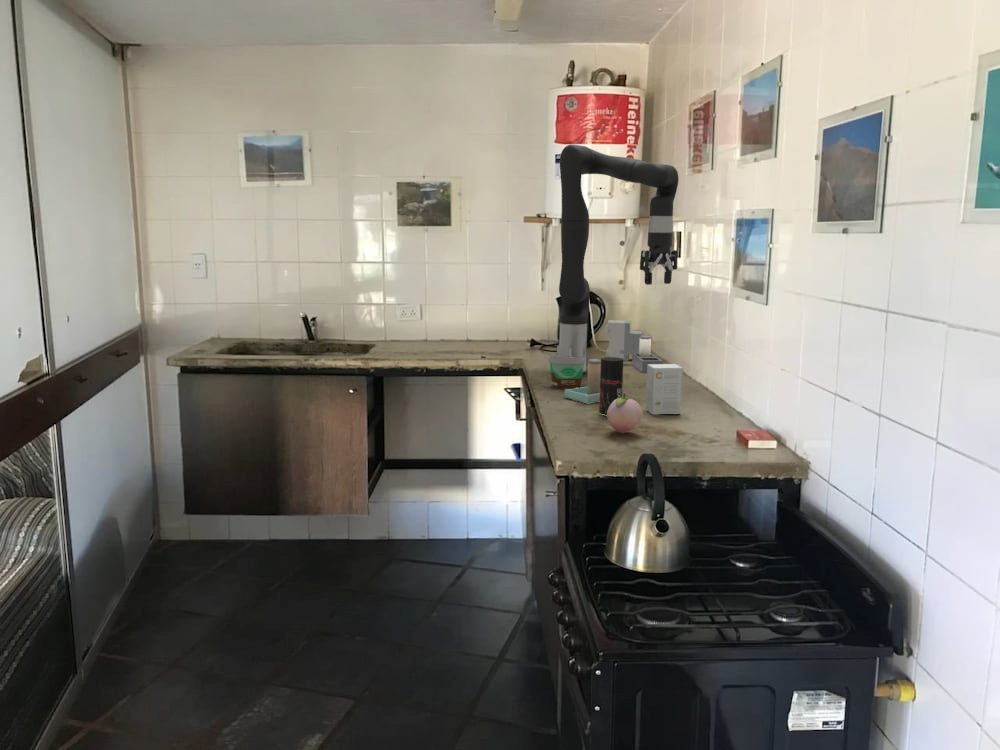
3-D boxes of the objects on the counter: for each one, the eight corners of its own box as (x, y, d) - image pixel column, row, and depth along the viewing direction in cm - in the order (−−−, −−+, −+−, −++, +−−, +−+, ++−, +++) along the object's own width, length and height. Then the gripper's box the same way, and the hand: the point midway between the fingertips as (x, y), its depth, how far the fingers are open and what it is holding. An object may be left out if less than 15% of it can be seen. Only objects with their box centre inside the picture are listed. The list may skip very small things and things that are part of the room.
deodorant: (616, 417, 211) (618, 361, 208) (595, 414, 214) (597, 359, 211) (624, 413, 216) (626, 358, 214) (603, 410, 219) (605, 356, 216)
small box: (673, 409, 221) (675, 363, 218) (680, 415, 215) (683, 367, 212) (644, 410, 220) (646, 363, 218) (651, 415, 214) (653, 367, 211)
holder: (662, 375, 271) (663, 341, 269) (641, 375, 271) (643, 341, 269) (651, 367, 287) (652, 334, 285) (631, 367, 287) (633, 334, 284)
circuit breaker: (644, 364, 293) (646, 323, 290) (605, 362, 296) (607, 322, 293) (645, 361, 300) (647, 321, 297) (607, 359, 303) (608, 320, 300)
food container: (553, 390, 245) (554, 358, 243) (547, 386, 251) (547, 355, 249) (591, 388, 248) (592, 356, 247) (584, 384, 254) (585, 353, 252)
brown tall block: (599, 398, 232) (600, 361, 230) (585, 397, 233) (586, 360, 231) (601, 395, 235) (603, 359, 234) (588, 394, 237) (589, 358, 235)
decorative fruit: (638, 440, 189) (640, 399, 187) (604, 437, 191) (605, 396, 190) (642, 430, 198) (644, 391, 196) (609, 428, 200) (611, 389, 198)
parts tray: (587, 404, 226) (588, 395, 226) (564, 398, 234) (564, 389, 234) (622, 398, 235) (623, 390, 234) (599, 392, 243) (599, 384, 242)
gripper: (653, 231, 239) (650, 285, 242) (685, 231, 247) (682, 284, 250) (635, 231, 245) (633, 284, 248) (667, 231, 253) (664, 282, 256)
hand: (657, 284), depth 249 cm, fingers open, 8 cm apart
